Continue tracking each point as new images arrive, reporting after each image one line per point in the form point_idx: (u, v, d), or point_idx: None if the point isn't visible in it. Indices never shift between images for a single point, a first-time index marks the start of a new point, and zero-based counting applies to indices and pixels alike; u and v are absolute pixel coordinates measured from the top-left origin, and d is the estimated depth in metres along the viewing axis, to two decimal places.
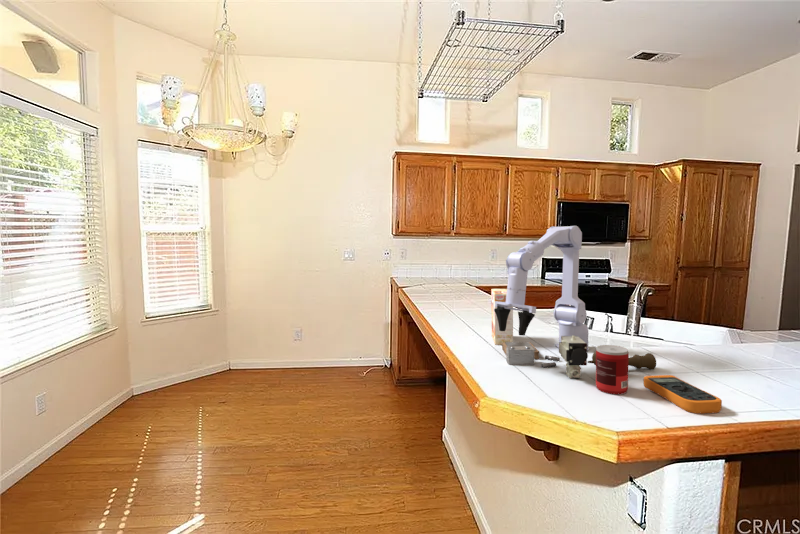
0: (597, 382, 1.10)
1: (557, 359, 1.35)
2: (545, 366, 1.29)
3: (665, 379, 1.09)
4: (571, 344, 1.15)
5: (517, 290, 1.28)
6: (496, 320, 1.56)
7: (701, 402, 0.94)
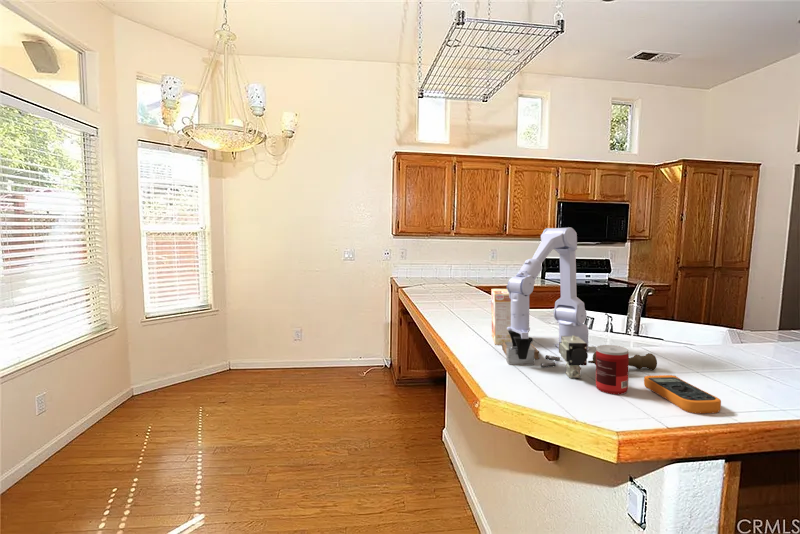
0: (597, 382, 1.10)
1: (558, 358, 1.35)
2: (545, 365, 1.29)
3: (666, 379, 1.09)
4: (571, 344, 1.15)
5: (514, 315, 1.31)
6: (496, 320, 1.56)
7: (700, 402, 0.94)
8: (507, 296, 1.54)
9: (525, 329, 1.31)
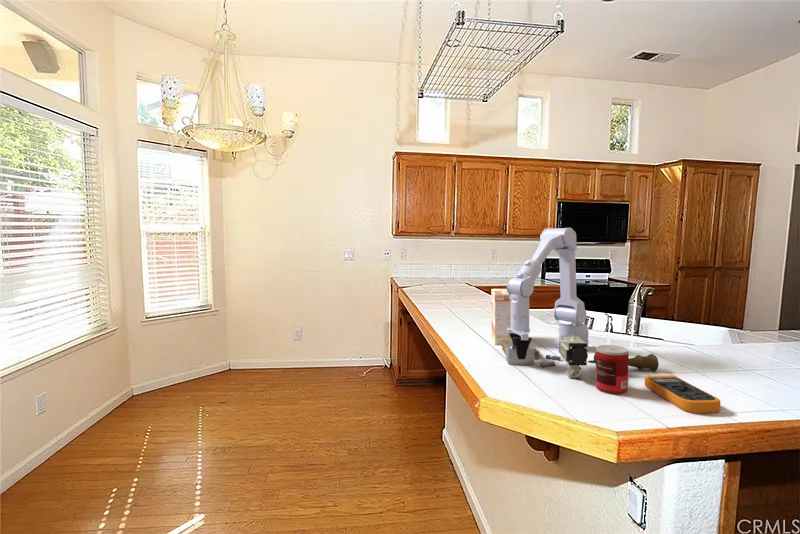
0: (597, 382, 1.10)
1: None
2: (543, 363, 1.29)
3: (666, 379, 1.09)
4: (571, 344, 1.15)
5: (514, 316, 1.31)
6: (496, 320, 1.56)
7: (699, 402, 0.94)
8: (507, 296, 1.54)
9: (525, 330, 1.31)
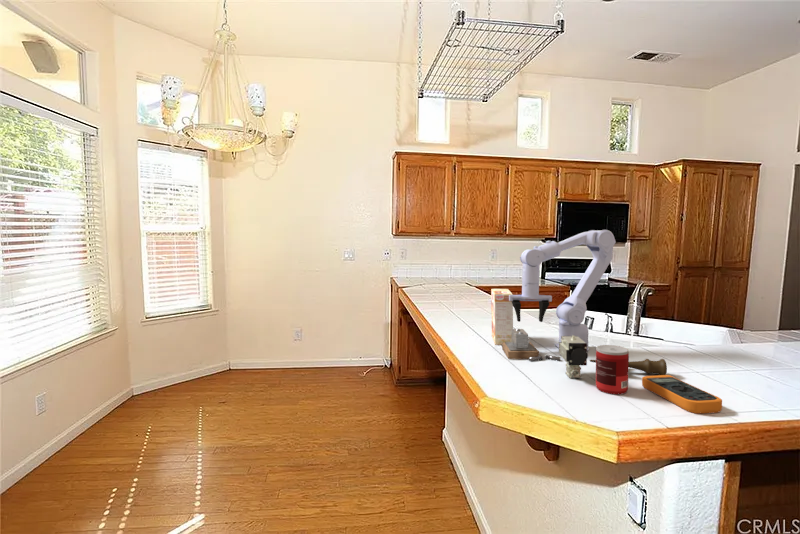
0: (597, 382, 1.10)
1: (558, 357, 1.35)
2: (532, 360, 1.35)
3: (663, 379, 1.09)
4: (571, 344, 1.15)
5: None
6: (496, 320, 1.56)
7: (703, 402, 0.94)
8: (507, 296, 1.54)
9: (523, 296, 1.46)
